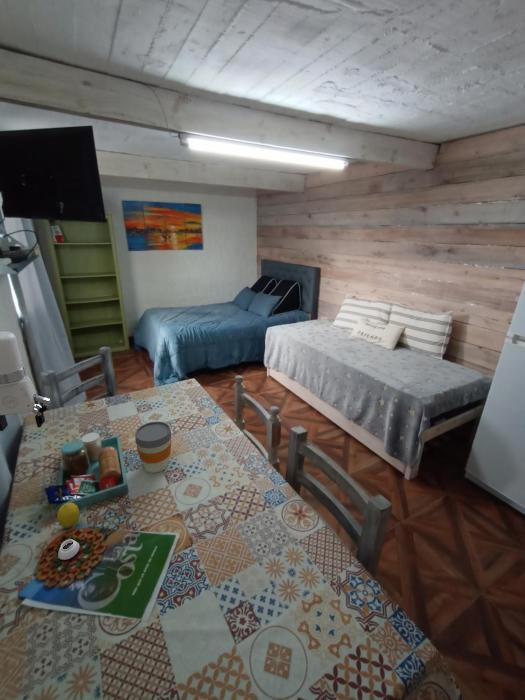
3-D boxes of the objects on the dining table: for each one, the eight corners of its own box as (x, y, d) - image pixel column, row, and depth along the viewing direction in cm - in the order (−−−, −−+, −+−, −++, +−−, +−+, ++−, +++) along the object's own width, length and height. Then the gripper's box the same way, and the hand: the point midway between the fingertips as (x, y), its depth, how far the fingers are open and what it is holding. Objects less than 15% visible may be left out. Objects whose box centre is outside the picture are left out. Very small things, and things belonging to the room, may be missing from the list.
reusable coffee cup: (131, 471, 115) (126, 437, 110) (152, 450, 127) (148, 418, 121) (161, 479, 112) (157, 445, 107) (180, 457, 123) (177, 424, 118)
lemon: (85, 522, 95) (80, 502, 92) (66, 536, 91) (61, 515, 88) (74, 514, 98) (70, 494, 95) (56, 527, 93) (50, 507, 90)
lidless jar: (77, 540, 90) (57, 550, 87) (75, 532, 89) (54, 542, 86) (81, 553, 86) (60, 564, 83) (79, 545, 85) (58, 556, 82)
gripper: (-37, 383, 84) (-19, 437, 90) (38, 378, 88) (50, 430, 94) (-21, 372, 90) (-5, 422, 96) (48, 368, 94) (59, 416, 101)
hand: (22, 426), depth 95 cm, fingers open, 9 cm apart
